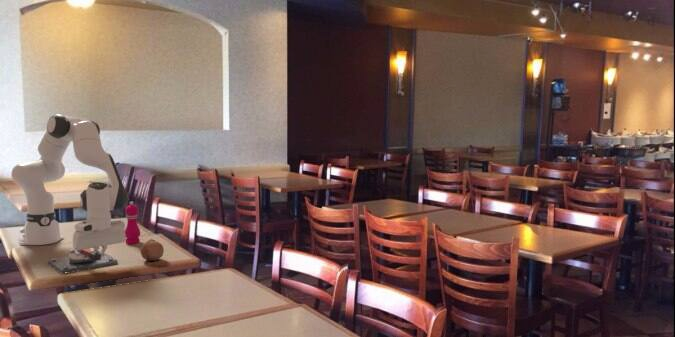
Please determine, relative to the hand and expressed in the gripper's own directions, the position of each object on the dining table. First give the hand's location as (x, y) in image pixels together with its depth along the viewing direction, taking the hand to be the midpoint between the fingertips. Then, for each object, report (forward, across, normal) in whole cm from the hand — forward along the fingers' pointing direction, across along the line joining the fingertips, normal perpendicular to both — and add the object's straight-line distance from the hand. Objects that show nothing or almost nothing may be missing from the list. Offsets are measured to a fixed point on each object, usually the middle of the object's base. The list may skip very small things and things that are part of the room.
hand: (100, 256), depth 227 cm
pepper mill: (+6, -28, -30) cm, 42 cm away
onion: (+5, -21, +3) cm, 22 cm away
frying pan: (+3, +3, -7) cm, 8 cm away
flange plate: (+5, +3, -12) cm, 13 cm away
